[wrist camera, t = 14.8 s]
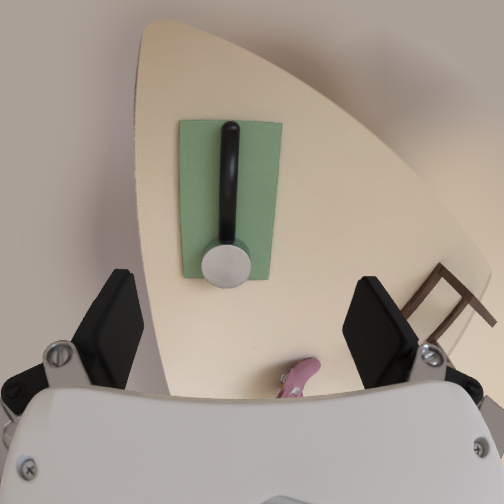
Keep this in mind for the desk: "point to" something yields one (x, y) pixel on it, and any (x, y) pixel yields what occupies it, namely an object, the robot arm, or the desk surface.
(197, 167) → the mat
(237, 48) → the desk surface
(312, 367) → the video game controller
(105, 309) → the robot arm
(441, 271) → the rack
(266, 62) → the desk surface
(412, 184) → the desk surface
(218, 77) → the desk surface
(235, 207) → the grey saucepan
